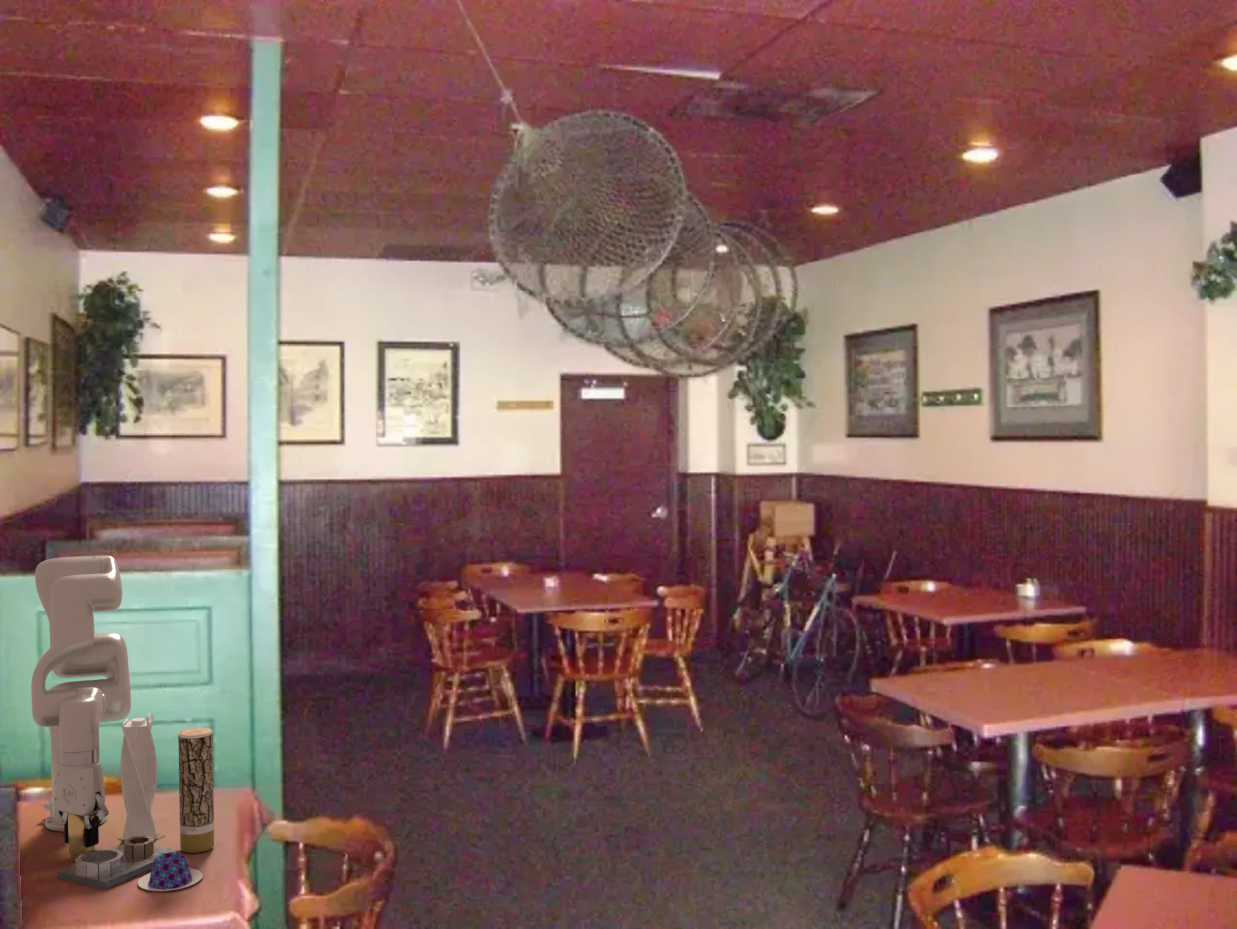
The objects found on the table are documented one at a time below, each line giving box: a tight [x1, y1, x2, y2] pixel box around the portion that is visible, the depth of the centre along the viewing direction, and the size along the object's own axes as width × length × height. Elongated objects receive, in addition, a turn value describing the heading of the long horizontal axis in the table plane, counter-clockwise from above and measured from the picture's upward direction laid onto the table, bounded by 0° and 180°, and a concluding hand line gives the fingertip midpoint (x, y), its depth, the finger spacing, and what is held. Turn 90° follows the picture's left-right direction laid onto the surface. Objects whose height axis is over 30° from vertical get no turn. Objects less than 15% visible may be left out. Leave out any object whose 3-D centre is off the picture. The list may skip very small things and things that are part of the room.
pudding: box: [137, 851, 203, 892], centre depth 250 cm, size 12×12×5 cm
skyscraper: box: [117, 712, 166, 842], centre depth 273 cm, size 8×8×28 cm
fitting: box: [67, 813, 96, 862], centre depth 263 cm, size 5×5×10 cm
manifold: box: [57, 836, 180, 891], centre depth 257 cm, size 13×19×4 cm
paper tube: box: [177, 726, 215, 854], centre depth 267 cm, size 7×7×25 cm
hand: (81, 842), depth 263 cm, fingers closed on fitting, 5 cm apart
